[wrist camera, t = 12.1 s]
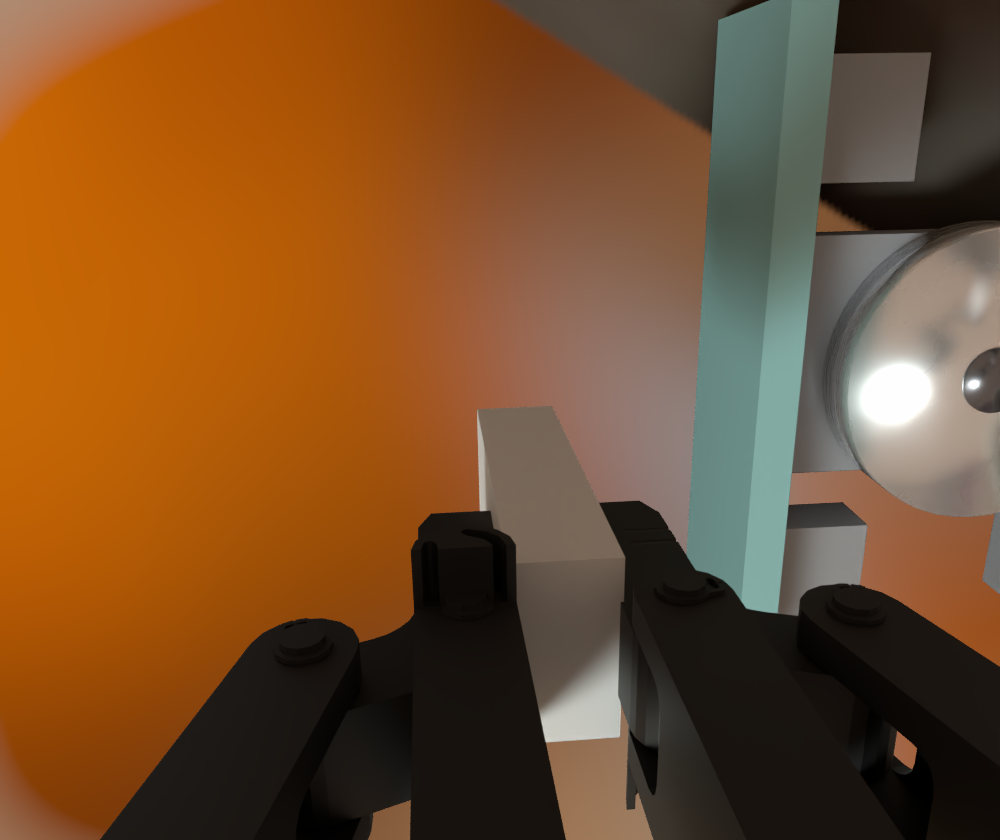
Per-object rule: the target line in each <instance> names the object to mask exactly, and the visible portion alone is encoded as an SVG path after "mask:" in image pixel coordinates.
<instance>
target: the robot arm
mask: <svg viewBox="0 0 1000 840" xmlns="http://www.w3.org/2000/svg"><path fill="white" fill-rule="evenodd" d="M477 420H478V422H477V423H478V457H479V493H480V511H474V512H455V513H436V514H431V515H429V517H428V518H427V519H426V520H425V521H424V522H423V523H422V524H421V525H420V526H419V528H418V540H416V541H415V543H414V545H413V547H412V549H411V562H412V579H413V596H414V615H413V616H412V617H411V619H410V620H409V621H408V622H407V623H405V624H404V625H403V626H402V627H400V628H399V629H397V630H395V631H393V632H391V633H389V634H387V635H384V636H381V637H378V638H375V639H372V640H368V641H364V642H360V643H359V639H358V637H357V635H356V634H355V632H354V630H353V629H352V628H350V627H348V626H346V625H345V624H343V623H341V622H338V621H333V620H327V619H322V618H321V619H308V618H305V619H298V620H296V621H289V622H286V623H283V624H281V625H278V626H276V627H274V628H272V629H270V630H268V631H266V632H264V633H263V634H262V635H260V636H259V637H258V638H257V639H256V640H254V641H253V642H252V643H251V644H250V645H249V647H248V648H247V649H246V650H245V652H244V653H243V654H242V656H241V657H240V658H239V660H238V661H237V662H236V664H235V665H234V666H233V667H232V669H231V670H230V671H229V673H228V674H227V675H226V676H225V678H224V679H223V681H222V682H221V683H220V684H219V686H218V687H217V688H216V690H215V691H214V692H213V693H212V695H211V696H210V697H209V699H208V700H207V701H206V703H205V704H204V705H203V706H202V708H201V709H200V710H199V712H198V713H197V714H196V716H195V717H194V718H193V719H192V721H191V722H190V723H189V725H188V726H187V727H186V729H185V730H184V731H183V732H182V734H181V735H180V736H179V738H178V739H177V740H176V742H175V743H174V744H173V745H172V747H171V748H170V749H169V751H168V752H167V753H166V755H165V756H164V757H163V759H162V760H161V761H160V762H159V764H158V765H157V766H156V768H155V769H154V770H153V771H152V773H151V774H150V775H149V777H148V778H147V779H146V781H145V782H144V783H143V784H142V786H141V787H140V788H139V790H138V791H137V792H136V794H135V795H134V796H133V798H132V799H131V800H130V802H129V803H128V804H127V805H126V807H125V808H124V809H123V810H122V812H121V813H120V814H119V816H118V817H117V818H116V820H115V821H114V822H113V823H112V825H111V826H110V827H109V829H108V830H107V831H106V833H105V834H104V835H103V836H102V838H101V839H100V840H368V838H369V836H370V833H371V828H372V821H373V813H374V812H377V811H380V810H383V809H385V808H388V807H391V806H394V805H397V804H400V803H403V802H406V801H409V800H411V823H410V840H566V839H565V834H564V829H563V824H562V819H561V814H560V810H559V805H558V800H557V795H556V790H555V785H554V780H553V776H552V771H551V766H550V761H549V756H548V751H547V746H546V742H556V741H570V740H585V739H599V738H610V737H611V738H612V737H620V713H621V705H622V708H623V711H624V714H625V716H626V719H627V722H628V725H629V730H628V760H627V789H626V804H627V810H628V809H635V796H636V794H637V793H639V796H640V799H641V802H642V805H643V809H644V812H645V814H646V818H647V821H648V824H649V827H650V830H651V833H652V836H653V839H654V840H1000V667H999V666H998V665H996V664H995V663H993V662H992V661H990V660H989V659H987V658H985V657H984V656H982V655H981V654H979V653H978V652H976V651H975V650H973V649H972V648H970V647H968V646H967V645H965V644H964V643H962V642H961V641H959V640H958V639H956V638H955V637H953V636H952V635H950V634H948V633H947V632H945V631H944V630H942V629H941V628H939V627H938V626H936V625H935V624H933V623H932V622H930V621H929V620H927V619H926V618H924V617H922V616H921V615H919V614H918V613H916V612H915V611H913V610H912V609H910V608H909V607H907V606H906V605H904V604H902V603H901V602H899V601H898V600H896V599H894V598H892V597H890V596H888V595H886V594H884V593H882V592H878V591H875V590H872V589H868V588H865V587H864V586H861V585H855V584H851V585H849V584H846V583H838V584H833V585H821V586H818V587H815V588H813V589H810V590H807V591H806V592H805V593H804V595H803V596H802V597H801V598H800V603H799V612H798V616H795V615H787V614H778V613H770V612H763V611H757V610H751V609H747V608H746V607H745V606H744V604H743V603H742V601H741V600H740V599H739V597H738V596H737V594H736V593H735V591H734V590H733V589H732V588H731V587H730V586H729V585H728V584H727V583H726V582H725V581H724V580H722V579H720V578H718V577H716V576H713V575H711V574H709V573H706V572H702V571H697V570H695V568H694V567H693V565H692V564H691V562H690V560H689V559H688V557H687V556H686V554H685V553H684V551H683V549H682V548H681V546H680V545H679V543H678V542H676V538H675V537H674V535H673V534H672V532H671V531H670V530H668V526H667V524H666V523H665V521H664V519H663V518H662V516H661V515H660V513H659V512H657V511H655V510H654V509H652V508H650V507H649V506H647V505H646V504H644V503H642V502H640V501H625V502H605V503H599V502H598V500H597V498H596V496H595V494H594V492H593V490H592V488H591V486H590V484H589V482H588V480H587V478H586V475H585V473H584V471H583V469H582V467H581V465H580V463H579V461H578V459H577V457H576V455H575V453H574V451H573V449H572V447H571V445H570V442H569V440H568V439H567V436H566V434H565V432H564V430H563V428H562V426H561V424H560V422H559V420H558V418H557V416H556V414H555V411H554V409H553V407H552V406H542V407H519V408H495V409H477ZM897 731H898V732H900V733H901V734H902V735H903V736H904V737H905V738H907V739H908V740H909V741H910V742H912V743H913V744H914V746H915V747H916V748H917V753H916V759H915V764H914V767H913V769H910V768H909V767H907V766H906V765H904V764H903V763H902V762H901V761H900V760H898V759H897V758H896V757H895V756H894V748H895V741H896V735H897Z"/></svg>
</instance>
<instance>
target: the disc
mask: <svg viewBox="0 0 1000 840" xmlns="http://www.w3.org/2000/svg"><path fill="white" fill-rule="evenodd" d="M822 391H823V401H824V408H825V412H826V416H827V420H828V423H829V425H830V428H831V430H832V433H833V435H834V437H835V439H836V441H837V442H838V444H839V446H840V447H841V449H842V451H843V452H844V453H845V454H846V455H847V457H848V458H849V459H850V460H851V461H852V462H853V463H854V464H855V465H856V466H857V467H858V468H859V469H860V470H862V471H863V472H864V473H865V474H866V475H868V476H869V477H870V478H871V479H873V480H874V481H875V482H877V483H878V484H879V485H880V486H882V487H883V488H884V489H886V490H887V491H888V492H889V493H890V494H892V495H894V496H895V497H897V498H898V499H900V500H901V501H903V502H905V503H906V504H909V505H911V506H913V507H915V508H918V509H920V510H923V511H927V512H931V513H934V514H939V515H946V516H955V517H956V516H957V517H973V516H981V515H990V514H994V513H998V512H1000V221H993V220H979V221H968V222H962V223H957V224H953V225H948V226H945V227H942V228H939V229H936V230H934V231H931V232H928V233H926V234H924V235H922V236H921V237H919V238H917V239H915V240H913V241H911V242H909V243H907V244H906V245H904V246H903V247H901V248H900V249H898V250H897V251H895V252H894V253H892V254H891V255H890V256H889V257H887V258H886V259H885V260H884V261H883V262H882V263H880V264H879V265H878V266H877V267H876V268H875V269H874V270H873V271H872V272H871V273H870V274H869V275H868V276H867V277H866V278H865V279H864V280H863V281H862V283H861V284H860V285H859V287H858V288H857V289H856V291H855V292H854V293H853V295H852V296H851V297H850V299H849V300H848V302H847V304H846V305H845V307H844V309H843V311H842V312H841V314H840V316H839V318H838V320H837V323H836V325H835V327H834V329H833V332H832V334H831V337H830V341H829V344H828V347H827V350H826V355H825V361H824V367H823V381H822Z"/></svg>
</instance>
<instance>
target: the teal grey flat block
mask: <svg viewBox="0 0 1000 840" xmlns="http://www.w3.org/2000/svg"><path fill="white" fill-rule="evenodd" d="M838 8H839V0H769V1H767V2H764V3H761V4H759V5H756V6H754V7H751V8H749V9H746V10H743V11H741V12H738V13H736V14H733V15H730V16H728V17H725V18H723V19H720V20H718V37H717V53H716V70H715V87H714V104H713V121H712V137H711V154H710V171H709V172H710V173H709V188H708V189H709V190H708V205H707V222H706V238H705V255H704V273H703V289H702V305H701V322H700V339H699V340H700V341H699V356H698V373H697V389H696V390H697V391H696V406H695V423H694V424H695V425H694V440H693V458H692V473H691V491H690V508H689V524H688V525H689V526H688V541H687V557H688V559H689V560H690V562H691V564H692V565H693V567H694V568H695V570H697V571H702V572H706V573H709V574H711V575H713V576H716V577H718V578H720V579H722V580H724V581H725V582H726V583H727V584H728V585H729V586H730V587H731V588H732V589H733V590H734V591H735V593H736V594H737V596H738V597H739V599H740V600H741V601H742V603H743V604H744V606H745V607H746V608H747V609H751V610H757V611H763V612H770V613H778V614H787V615H795V616H798V612H799V603H800V598H801V597H802V596H803V595H804V593H805V592H806V591H807V590H810V589H813V588H815V587H818V586H821V585H833V584H838V583H846V584H849V585H851V584H855V585H860V579H861V571H862V564H863V556H864V549H865V541H866V534H867V526H868V525H867V524H866V523H865V522H864V521H863V520H861V519H860V518H859V517H858V516H857V515H856V514H855V513H854V512H853V511H852V510H850V509H849V508H848V507H847V506H846V505H845V504H844V503H843V502H841V503H820V504H799V505H789V495H790V485H791V475H792V473H803V472H825V471H847V470H860V469H859V468H858V467H857V466H856V465H855V464H854V463H853V462H852V461H851V460H850V459H849V458H848V457H847V455H846V454H845V453H844V452H843V451H842V449H841V447H840V446H839V444H838V442H837V441H836V439H835V437H834V435H833V433H832V430H831V428H830V425H829V423H828V420H827V416H826V412H825V408H824V401H823V391H822V381H823V367H824V361H825V355H826V350H827V347H828V344H829V341H830V337H831V334H832V332H833V329H834V327H835V325H836V323H837V320H838V318H839V316H840V314H841V312H842V311H843V309H844V307H845V305H846V304H847V302H848V300H849V299H850V297H851V296H852V295H853V293H854V292H855V291H856V289H857V288H858V287H859V285H860V284H861V283H862V281H863V280H864V279H865V278H866V277H867V276H868V275H869V274H870V273H871V272H872V271H873V270H874V269H875V268H876V267H877V266H878V265H879V264H880V263H882V262H883V261H884V260H885V259H886V258H887V257H889V256H890V255H891V254H892V253H894V252H895V251H897V250H898V249H900V248H901V247H903V246H904V245H906V244H907V243H909V242H911V241H913V240H915V239H917V238H919V237H921V236H922V235H924V234H926V233H928V232H931V231H934V230H936V229H915V230H878V231H843V232H816V226H817V216H818V206H819V197H820V187H821V183H858V182H901V181H914V177H915V170H916V163H917V155H918V148H919V140H920V133H921V125H922V118H923V111H924V103H925V96H926V88H927V81H928V73H929V66H930V59H931V52H929V53H851V54H834V47H835V37H836V27H837V18H838ZM983 581H984V582H985V583H987V584H988V585H989V586H990V587H992V588H993V589H994V590H995V591H997V592H998V593H999V594H1000V512H998V513H995V516H994V522H993V526H992V532H991V538H990V542H989V548H988V553H987V558H986V564H985V570H984V575H983Z"/></svg>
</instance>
